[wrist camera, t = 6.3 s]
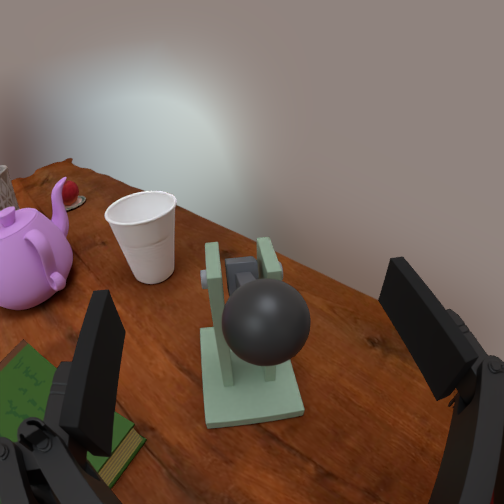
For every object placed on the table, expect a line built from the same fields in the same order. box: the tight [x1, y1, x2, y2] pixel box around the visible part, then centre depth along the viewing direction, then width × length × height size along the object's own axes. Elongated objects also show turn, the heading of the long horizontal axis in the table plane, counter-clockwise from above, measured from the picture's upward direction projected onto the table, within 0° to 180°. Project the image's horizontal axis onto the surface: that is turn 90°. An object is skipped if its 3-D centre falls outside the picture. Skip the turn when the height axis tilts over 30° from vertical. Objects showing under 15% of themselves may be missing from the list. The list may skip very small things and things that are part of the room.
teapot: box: [0, 177, 73, 310], centre depth 40 cm, size 22×22×14 cm
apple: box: [62, 181, 86, 210], centre depth 66 cm, size 8×8×6 cm
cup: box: [105, 191, 177, 284], centre depth 42 cm, size 10×10×11 cm
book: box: [0, 339, 147, 504], centre depth 17 cm, size 25×19×4 cm
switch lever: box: [221, 256, 310, 366], centre depth 18 cm, size 14×4×4 cm, turn 8°
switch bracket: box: [200, 237, 304, 428], centre depth 27 cm, size 12×9×15 cm
